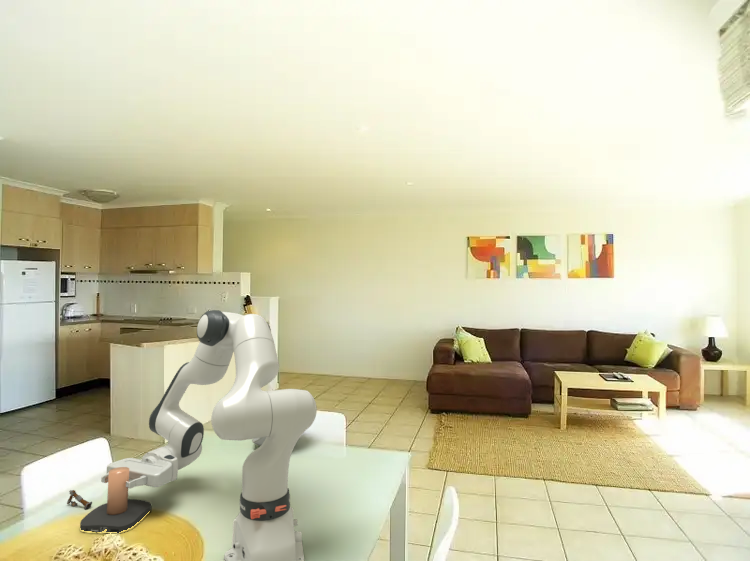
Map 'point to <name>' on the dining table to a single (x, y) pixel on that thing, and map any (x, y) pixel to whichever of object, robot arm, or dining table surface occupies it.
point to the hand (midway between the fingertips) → (115, 482)
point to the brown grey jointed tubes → (79, 499)
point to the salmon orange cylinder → (117, 490)
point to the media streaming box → (115, 517)
